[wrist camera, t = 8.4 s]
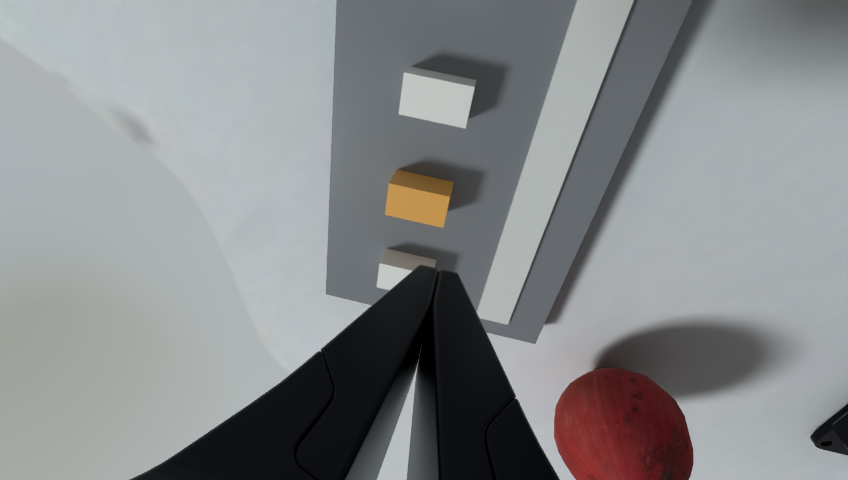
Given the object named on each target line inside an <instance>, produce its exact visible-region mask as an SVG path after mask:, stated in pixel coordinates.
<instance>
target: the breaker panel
mask: <svg viewBox="0 0 848 480" xmlns="http://www.w3.org/2000/svg"><path fill="white" fill-rule="evenodd" d="M692 1H693V0H337V8H336V36H335V63H334V90H333V117H332V144H331V172H330V199H329V226H328V253H327V280H326V294H327V295H332V296H336V297H340V298H344V299H349V300H353V301H357V302H361V303H365V304H370V305H373V304H374V303H376V302H377V301H378V300H379V299H380V298H381V297H383V296H384V295H385V294H386V293H387V292H388V291H390V290H391V289H392V288H393V287H394V286H395V285H397V284H398V283H399V282H400V281H401V280H402V279H404V278H405V277H406V276H407V275H408V274H409V273H411V272H412V271H413V270H414V269H415V268H416V267H418V266H419V265H425V266H430V267H434V268H437V269H438V272H439V271H440V270H441V269H443V270H447V271H452V272H456V273H458V274H459V276H460V278H461V280H462V282H463V284H464V287H465V289H466V291H467V293H468V295H469V297H470V299H471V301H472V304H473V306H474V308H475V310H476V312H477V314H478V316H479V318H480V321H481V323H482V325H483V327H484V329H485V331H486V332H488V333H492V334H496V335H500V336H504V337H509V338H513V339H517V340H521V341H525V342H530V343H534V344H535V343H536V341H537V339H538V337H539V334H540V332H541V330H542V328H543V326H544V323H545V321H546V319H547V317H548V315H549V313H550V310H551V308H552V306H553V304H554V302H555V300H556V297H557V295H558V293H559V291H560V289H561V286H562V284H563V282H564V280H565V278H566V276H567V273H568V271H569V269H570V267H571V265H572V262H573V260H574V258H575V256H576V254H577V252H578V249H579V247H580V245H581V243H582V241H583V238H584V236H585V234H586V232H587V230H588V228H589V225H590V223H591V221H592V219H593V217H594V215H595V212H596V210H597V208H598V206H599V204H600V201H601V199H602V197H603V195H604V193H605V191H606V188H607V186H608V184H609V182H610V180H611V177H612V175H613V173H614V171H615V169H616V167H617V164H618V162H619V160H620V158H621V156H622V154H623V151H624V149H625V147H626V145H627V143H628V140H629V138H630V136H631V134H632V132H633V130H634V127H635V125H636V123H637V121H638V119H639V116H640V114H641V112H642V110H643V108H644V106H645V103H646V101H647V99H648V97H649V95H650V92H651V90H652V88H653V86H654V84H655V82H656V79H657V77H658V75H659V73H660V71H661V69H662V66H663V64H664V62H665V60H666V58H667V55H668V53H669V51H670V49H671V47H672V45H673V42H674V40H675V38H676V36H677V34H678V31H679V29H680V27H681V25H682V23H683V21H684V18H685V16H686V14H687V12H688V10H689V8H690V5H691V3H692ZM396 170H401V171H406V172H410V173H415V174H419V175H424V176H429V177H433V178H438V179H442V180H447V181H451V182H454V184H453V188H452V192H451V197H450V201H449V206H448V210H447V215H446V219H445V223H444V227H443V228H441V227H437V226H432V225H428V224H424V223H419V222H415V221H410V220H406V219H401V218H397V217H393V216H388V215H385V209H386V201H387V193H388V185H389V182H390V180H391V179H392V177H393V175H394V173H395V172H396Z"/></svg>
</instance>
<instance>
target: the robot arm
mask: <svg viewBox="0 0 848 480" xmlns="http://www.w3.org/2000/svg"><path fill="white" fill-rule="evenodd" d="M422 342H423V343H422ZM420 351H421V352H420ZM419 355H420V356H419ZM418 360H419V361H418ZM417 364H418V367H417ZM416 367H417V373H416V382H415V394H414V405H413V416H412V427H411V439H410V450H409V461H408V473H407V480H560V479H559V477H558V476H557V474H556V472H555V471H554V469H553V467H552V465H551V464H550V462H549V460H548V458H547V457H546V455H545V453H544V451H543V450H542V448H541V446H540V444H539V442H538V440H537V438H536V436H535V434H534V432H533V430H532V428H531V426H530V424H529V422H528V420H527V418H526V416H525V414H524V412H523V410H522V408H521V406H520V403H519V401H518V400H517V399H515V398H516V395H515V393H514V391H513V389H512V387H511V385H510V382H509V380H508V378H507V376H506V374H505V372H504V370H503V368H502V365H501V363H500V361H499V359H498V357H497V355H496V353H495V350H494V348H493V346H492V344H491V342H490V340H489V338H488V336H487V333H486V331H485V329H484V327H483V325H482V323H481V321H480V318H479V316H478V314H477V312H476V310H475V308H474V306H473V304H472V301H471V299H470V297H469V295H468V293H467V291H466V289H465V287H464V284H463V282H462V280H461V278H460V276H459V274H458V273H456V272H452V271H447V270H443V269H441V270H440V271H439V272H438V269H437V268H434V267H430V266H425V265H419V266H418V267H416V268H415V269H414V270H413V271H412V272H411V273H409V274H408V275H407V276H406V277H405V278H404V279H402V280H401V281H400V282H399V283H398V284H397V285H395V286H394V287H393V288H392V289H391V290H390V291H388V292H387V293H386V294H385V295H384V296H383V297H381V298H380V299H379V300H378V301H377V302H376V303H374V304H373V305H372V306H371V307H370V308H368V309H367V310H366V311H365V312H364V313H363V314H361V315H360V316H359V317H358V318H357V319H356V320H354V321H353V322H352V323H351V324H350V325H349V326H347V327H346V328H345V329H344V330H343V331H342V332H340V333H339V334H338V335H337V336H336V337H335V338H333V339H332V340H331V341H330V342H329V343H328V344H326V345H325V346H324V347H323V348H322V349H321V352H320V351H318V352H317V353H316V354H314V355H313V356H312V357H311V358H310V359H309V360H307V361H306V362H305V363H304V364H303V365H302V366H300V367H299V368H298V369H297V370H295V371H294V372H293V373H292V374H290V375H289V376H288V377H287V378H285V379H284V380H283V381H282V382H280V383H279V384H278V385H276V386H275V387H273V388H272V389H271V390H269V391H268V392H266V393H265V394H263V395H262V396H261V397H259V398H258V399H257V400H255V401H254V402H252V403H251V404H249V405H248V406H246V407H245V408H243V409H242V410H241V411H239V412H238V413H236V414H235V415H233V416H232V417H230V418H229V419H227V420H226V421H224V422H223V423H221V424H220V425H218V426H217V427H215V428H214V429H212V430H211V431H209V432H208V433H207V434H205V435H204V436H202V437H201V438H199V439H198V440H196V441H195V442H193V443H192V444H190V445H189V446H187V447H186V448H184V449H183V450H181V451H180V452H179V453H177V454H176V455H174V456H173V457H171V458H169V459H168V460H166V461H165V462H163V463H161V464H160V465H158V466H156V467H154V468H152V469H151V470H149V471H147V472H145V473H143V474H141V475H139V476H137V477H134V478H132V479H130V480H376V479H377V477H378V474H379V471H380V468H381V466H382V463H383V460H384V457H385V455H386V452H387V449H388V446H389V444H390V441H391V438H392V435H393V433H394V430H395V427H396V424H397V421H398V419H399V416H400V413H401V410H402V408H403V405H404V402H405V399H406V397H407V394H408V391H409V388H410V386H411V383H412V380H413V377H414V374H415V371H416ZM811 440H812V441H813V443H814V444H815V446H816V447H817V448H820V449H824V450H828V451H832V452H836V453H840V454H844V455H848V406H847V407H846V408H844V409H843V410H842V411H841V412H839V413H838V414H837V415H836V416H834V417H833V418H832V419H831V420H829V421H828V422H827V423H826V424H824V425H823V426H822V427H821V428H820V429H818V430H817V431H816V432H815V433H813V434H812V435H811Z"/></svg>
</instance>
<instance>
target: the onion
mask: <svg viewBox="0 0 848 480" xmlns="http://www.w3.org/2000/svg"><path fill="white" fill-rule="evenodd" d="M554 438H555V441H556V445H557V448H558V451H559V454H560V455H561V457H562V459H563V461H564V463H565V464H566V466H567V467H568V469H569V470H570V472H571V473H572V475H573V476H574V478H575V479H576V480H689V478H690V475H691V471H692V467H693V447H692V443H691V439H690V436H689V432H688V428H687V424H686V420H685V416H684V414H683V413H682V411H681V409H680V408H679V406H678V404H677V403H676V401H675V399H674V398H672V397H671V396H670V395H669V394H668V393H666V392H665V391H664V390H663V389H662V388H660V387H659V386H658V385H657V384H656V383H654V382H653V381H652V380H651V379H650V378H648V377H647V376H645V375H642V374H638V373H635V372H632V371H628V370H624V369H621V368H597V369H595V370H593V371H590V372H588V373H586V374H584V375H583V376H581V377H579V378H577V379H576V380H575V381H573V382H572V383H570V384H569V386H568V387H567V388H566V390H565V391H564V392H563V393H562V395H561V397H560V399H559V401H558V403H557V405H556V409H555V419H554Z"/></svg>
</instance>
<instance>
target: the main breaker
mask: <svg viewBox="0 0 848 480" xmlns="http://www.w3.org/2000/svg"><path fill="white" fill-rule="evenodd" d="M453 184H454V182H451V181H447V180H442V179H438V178H433V177H429V176H424V175H419V174H415V173H410V172H406V171H401V170H396V172H395V173H394V175H393V177H392V179H391V180H390V182H389V185H388V193H387V201H386V209H385V215H388V216H393V217H397V218H401V219H406V220H410V221H415V222H419V223H424V224H428V225H432V226H437V227H441V228H443V227H444V223H445V219H446V215H447V210H448V206H449V201H450V197H451V192H452V188H453Z"/></svg>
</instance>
